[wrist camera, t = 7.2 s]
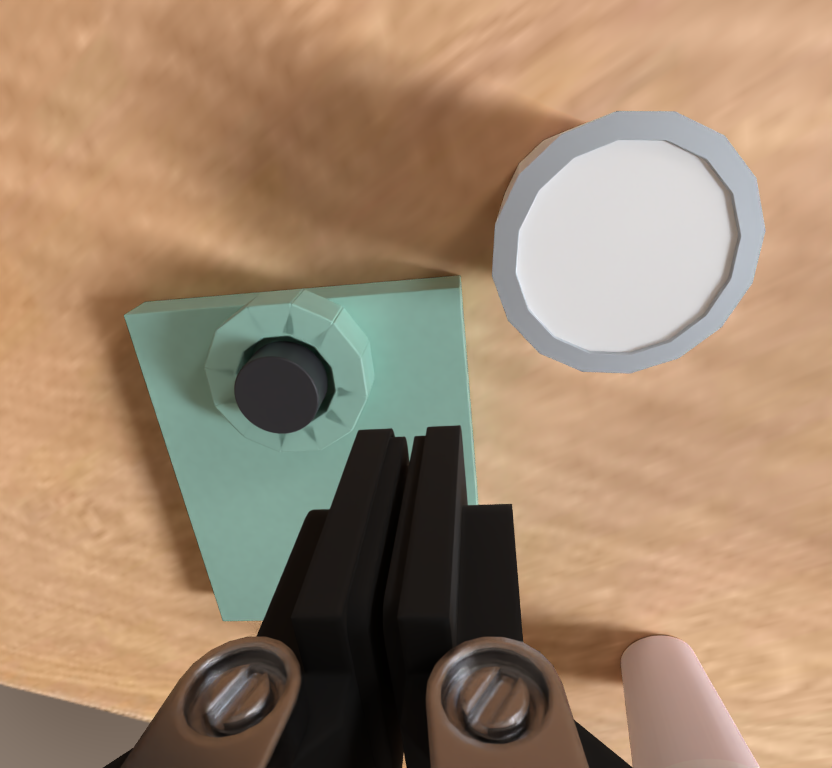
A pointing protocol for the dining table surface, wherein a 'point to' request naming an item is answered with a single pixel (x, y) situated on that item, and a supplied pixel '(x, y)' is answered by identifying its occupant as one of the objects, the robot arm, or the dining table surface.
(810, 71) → the dining table surface
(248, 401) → the button
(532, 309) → the white tapered cup
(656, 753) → the smoothie
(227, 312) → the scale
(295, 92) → the dining table surface
